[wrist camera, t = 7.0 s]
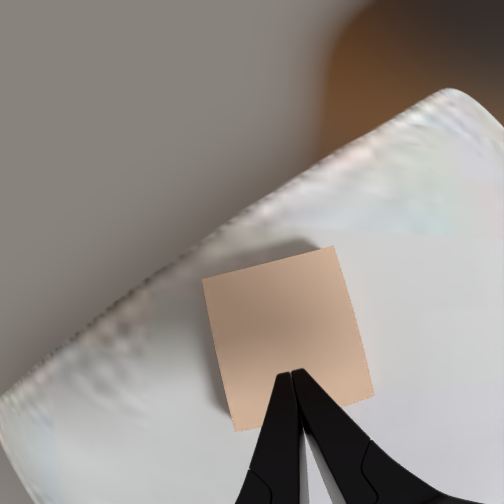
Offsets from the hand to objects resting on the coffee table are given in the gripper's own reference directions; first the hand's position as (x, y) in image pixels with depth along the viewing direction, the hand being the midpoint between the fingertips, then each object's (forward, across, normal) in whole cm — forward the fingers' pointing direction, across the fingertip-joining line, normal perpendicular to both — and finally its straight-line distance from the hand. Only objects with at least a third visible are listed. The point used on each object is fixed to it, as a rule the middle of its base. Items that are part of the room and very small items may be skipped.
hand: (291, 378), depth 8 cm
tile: (+2, 0, +6) cm, 7 cm away
